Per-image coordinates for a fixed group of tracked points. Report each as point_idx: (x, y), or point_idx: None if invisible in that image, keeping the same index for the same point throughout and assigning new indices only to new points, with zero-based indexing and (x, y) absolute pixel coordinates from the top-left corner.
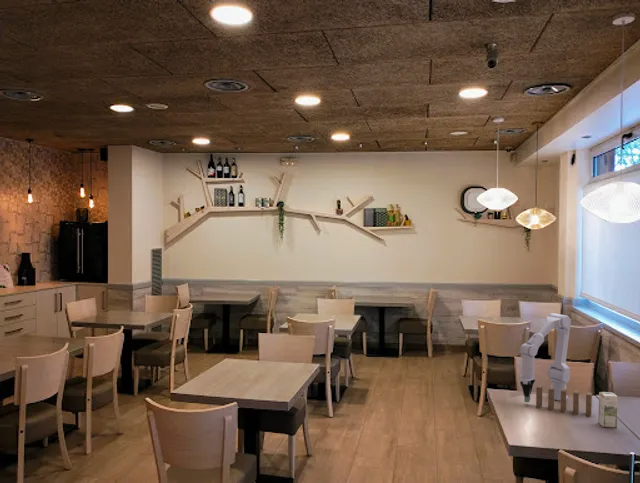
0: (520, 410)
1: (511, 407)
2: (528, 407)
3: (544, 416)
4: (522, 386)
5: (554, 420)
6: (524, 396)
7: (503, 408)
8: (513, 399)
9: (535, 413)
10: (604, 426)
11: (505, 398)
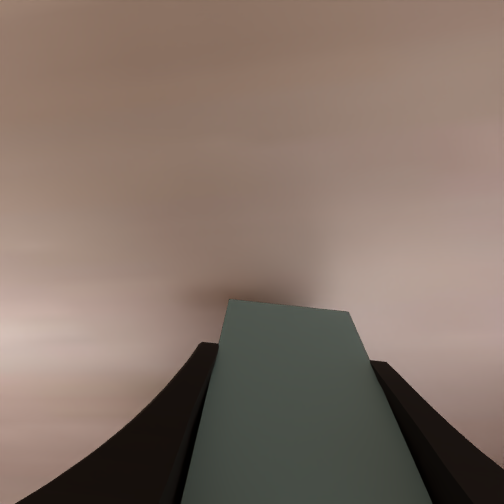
0: (62, 255)
1: (100, 160)
2: (200, 316)
3: (40, 423)
4: (72, 481)
5: (2, 470)
6: (220, 339)
7: (2, 71)
8: (433, 149)
9: (66, 370)
10: None
11: (450, 34)
